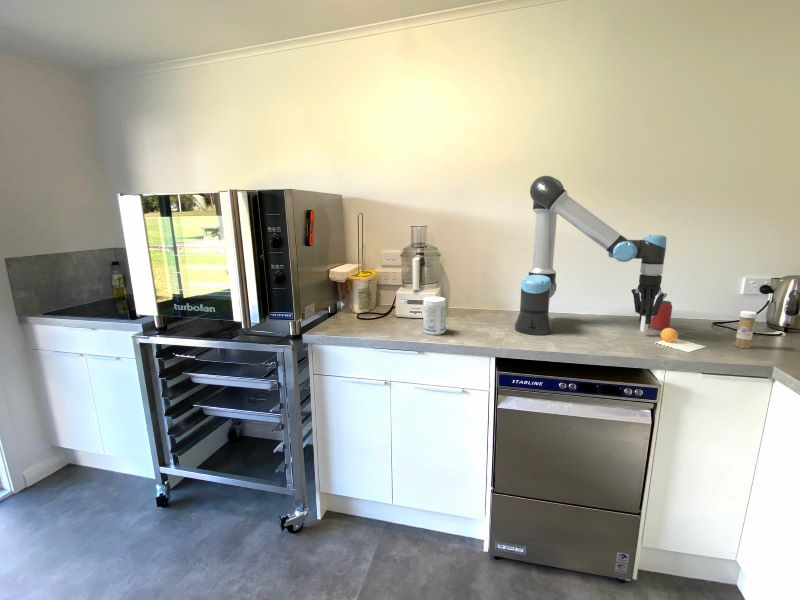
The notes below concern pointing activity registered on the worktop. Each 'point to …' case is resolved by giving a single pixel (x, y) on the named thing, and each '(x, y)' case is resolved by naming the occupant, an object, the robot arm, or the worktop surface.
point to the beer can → (662, 316)
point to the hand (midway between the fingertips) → (643, 331)
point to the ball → (669, 335)
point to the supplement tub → (434, 315)
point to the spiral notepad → (682, 345)
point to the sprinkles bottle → (745, 329)
